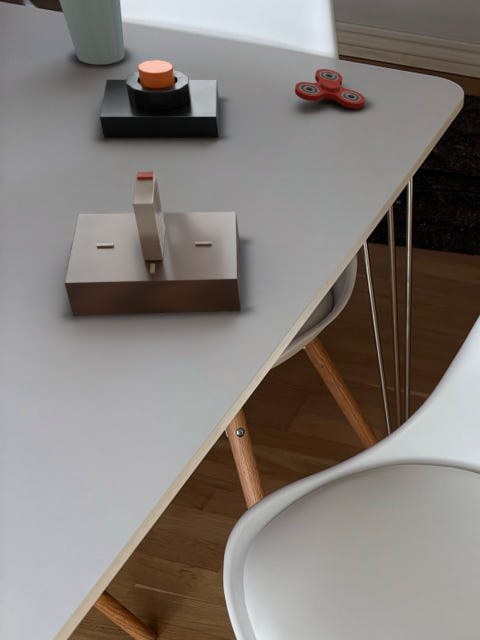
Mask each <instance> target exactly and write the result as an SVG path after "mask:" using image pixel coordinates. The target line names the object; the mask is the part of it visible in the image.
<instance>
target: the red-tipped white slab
mask: <svg viewBox="0 0 480 640" xmlns="http://www.w3.org/2000/svg"><path fill="white" fill-rule="evenodd" d="M135 176H136V177H135V183H134V190H133V199H132V207H133V213H135V218H136V223H137V229H138V234H139V239H140V244H141V249H142V254H143V259H144V260H163V251H164V238H165V225H164V219H163V213H164V212H163V209H162V208H163V207H162V202H161V196H160V191H159V185H158V179H157V174H156V173H154V171H137V172H136V174H135Z"/></svg>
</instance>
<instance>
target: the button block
mask: <svg viewBox="0 0 480 640" xmlns="http://www.w3.org/2000/svg"><path fill="white" fill-rule="evenodd" d="M173 73H174V79H175V84H174V85H172V86H169V87H164V88H150V87H146V86H142V85H141V82H140V77H139V71H138V70H137V71H135V72H133V73H131V74H130V75H128V76H127V77H126V79H106V81H105V86H104V92H103V97H102V103H101V107H100V108H101V109H100V113H99V120H100V125H101V129H102V134H103V138H104V139H151V138H152V139H153V138H154V139H160V138H161V139H165V138H166V139H168V138H169V139H171V138H172V139H179V138H180V139H183V138H184V139H185V138H189V139H191V138H192V139H194V138H195V139H196V138H197V139H198V138H200V139H201V138H202V139H203V138H205V139H206V138H219V137H220V97H219V89H218V80H217V79H190V78H189V77H188V76H187V75H186V74H184V73H183V72H181V71H179V70H174V69H173Z"/></svg>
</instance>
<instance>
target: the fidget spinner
mask: <svg viewBox="0 0 480 640" xmlns="http://www.w3.org/2000/svg"><path fill="white" fill-rule="evenodd" d="M314 75H315V76H314V79H315V81H316V82H308V81H301V82H297V83H296V84H295V86H294V94H295V95H296V96H297V97H299V99H302V100H304V101H308V102H319V101H321V100H324V99H325V100H331V101H332V100H334V101H336V102H337V103H338V104H340V105H341V106H343V107H346V108H348V109H353V110H356V109H362V108H364V106H365V100H366V99H365V96H364V95H363V94H361V93H360V92H358V91H355V90H352V89H348V88H345V87H343V86H342V85H343V76H342V74H340V73H339V72H337V71H335V70H333V69H328V68H320V69H317V70H316V71H315V74H314Z"/></svg>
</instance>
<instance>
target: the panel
mask: <svg viewBox="0 0 480 640" xmlns="http://www.w3.org/2000/svg"><path fill="white" fill-rule="evenodd" d="M162 213H163V219H164V225H165V238H164V251H163V260H144V259H143V254H142V249H141V244H140V239H139V234H138V229H137V223H136V218H135V213H134V212H125V213H124V212H123V213H122V212H121V213H119V212H118V213H115V212H113V213H78V214H77V216H76V223H75V227H74V232H73V236H72V242H71V247H70V252H69V258H68V264H67V268H66V274H65V279H64V287H65V290H66V291H65V292H66V294H67V299H68V302H69V306H70V310H71V313H72V316H96V315H97V316H98V315H132V314H161V313H162V314H163V313H192V312H193V313H197V312H231V311H233V312H235V311H241V310H242V296H241V295H242V294H241V293H242V291H241V247H240V245H241V243H240V242H241V241H240V233H239V224H238V215H237V212H236V211H195V212H194V211H193V212H192V211H189V212H162Z"/></svg>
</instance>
